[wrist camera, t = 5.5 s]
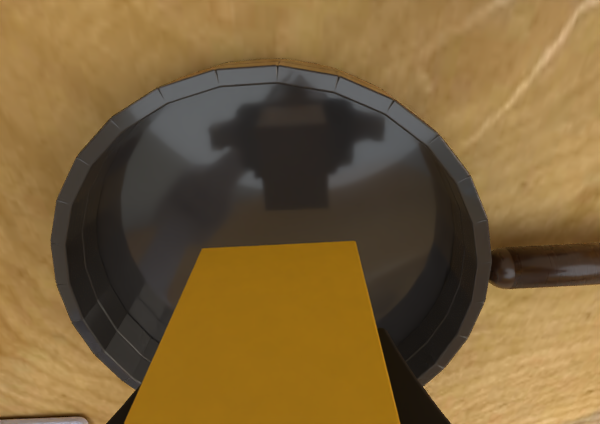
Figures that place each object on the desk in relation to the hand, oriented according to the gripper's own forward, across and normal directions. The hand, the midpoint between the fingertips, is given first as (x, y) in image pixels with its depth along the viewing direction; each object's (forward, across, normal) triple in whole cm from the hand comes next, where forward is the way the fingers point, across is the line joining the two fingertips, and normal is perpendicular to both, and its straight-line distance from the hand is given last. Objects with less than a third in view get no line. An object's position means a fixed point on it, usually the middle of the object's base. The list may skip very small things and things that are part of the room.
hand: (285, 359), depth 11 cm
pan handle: (+8, -13, +2) cm, 16 cm away
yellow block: (+1, 0, 0) cm, 1 cm away
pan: (+9, +1, +2) cm, 9 cm away
